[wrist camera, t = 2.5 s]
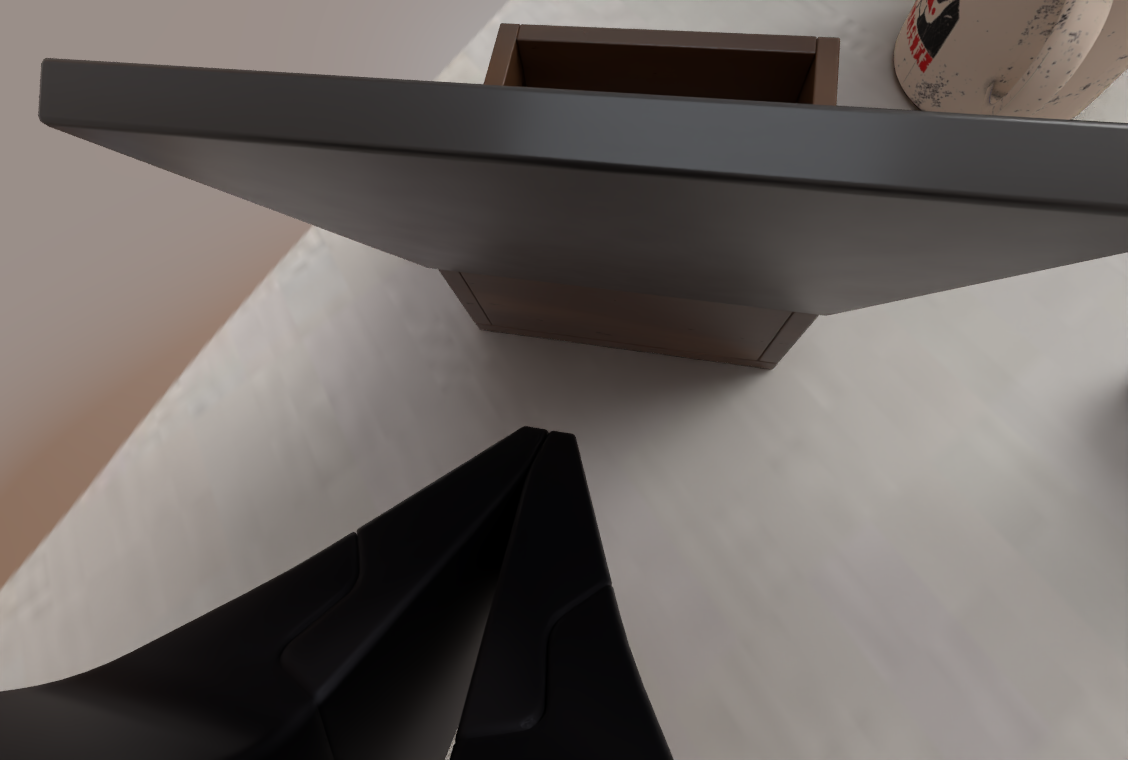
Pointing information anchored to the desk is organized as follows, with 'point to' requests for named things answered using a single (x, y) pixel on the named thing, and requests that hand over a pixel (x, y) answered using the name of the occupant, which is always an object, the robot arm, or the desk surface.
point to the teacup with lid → (1011, 55)
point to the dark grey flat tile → (626, 180)
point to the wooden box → (655, 69)
